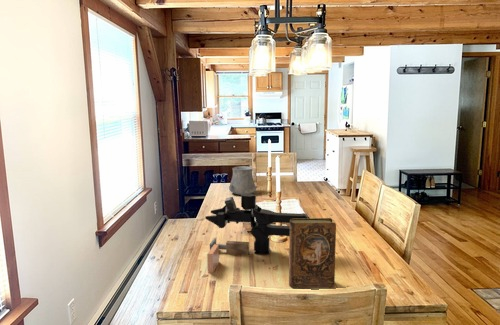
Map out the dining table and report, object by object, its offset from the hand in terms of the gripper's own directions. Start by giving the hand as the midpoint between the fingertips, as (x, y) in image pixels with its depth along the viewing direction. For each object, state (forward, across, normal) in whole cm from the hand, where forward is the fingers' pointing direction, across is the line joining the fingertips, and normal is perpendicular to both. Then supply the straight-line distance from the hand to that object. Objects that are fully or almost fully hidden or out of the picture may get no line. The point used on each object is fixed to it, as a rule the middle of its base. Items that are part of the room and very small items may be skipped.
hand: (208, 214), depth 172 cm
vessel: (+3, -106, +17) cm, 107 cm away
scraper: (-11, +3, +17) cm, 20 cm away
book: (-47, +28, +17) cm, 58 cm away
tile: (-7, +19, +17) cm, 26 cm away
